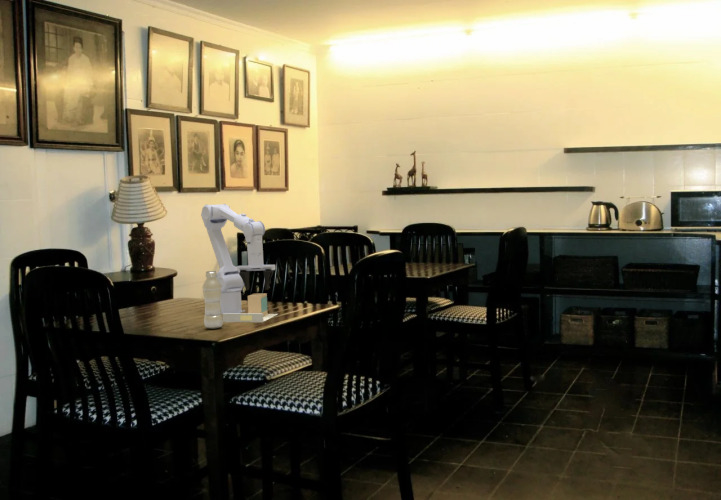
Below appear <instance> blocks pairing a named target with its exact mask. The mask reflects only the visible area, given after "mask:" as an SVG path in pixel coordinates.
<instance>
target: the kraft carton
mask: <svg viewBox="0 0 721 500" xmlns="http://www.w3.org/2000/svg"><path fill="white" fill-rule="evenodd" d="M267 294H268V293H252V294H250V295H247V309H248V310H247V311H248V312H247V313H263V316H265V315H267V314H269V313H268V297H267V296H268V295H267Z"/></svg>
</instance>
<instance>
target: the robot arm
mask: <svg viewBox="0 0 721 500" xmlns="http://www.w3.org/2000/svg"><path fill="white" fill-rule="evenodd" d="M200 216H201V220H202V221H203V224H204V227H205V228H206V232H207V234H208V238H209V241H210V244H211V247H212V250H213V253H214V256H215V258H216V262H217V265H218V267H219V270H218V271H216V274H217V277H216V279H217V280H218V281H219V282H220V284H221V296H220V306H221V315H223V313H244V312H246V310H245V309H242V293H241V292H242V291H243V288H244V289H245V290H246V291H249V290H250V287H251V286H250V272H252V271H253V272H254V271H255V272H256V271H257V272H258V271H263V272H262V273H263V278H264V289H265V291H269V290H270V283H271V278H272V276H273V274H274V271H275V270H276V264H264V250H263V249H264V248H263V236H264V235H265V233H266V227H265V224H264V223H263V222H262V220H258V221H255V220H254V218H250V217H249V216H247V214H246V213H239V214H238V213H237V212H235V211H234V210H232V209H231V207H230V205H228V204H226V203H223V204H222V203H220V204H204V205H203V207H202V210H201V214H200ZM228 221H229V222H231V223H233V225H234V228H237V229H238V230H240V231H241V232H242V233H243V235H244V237H245V238H244V240H245V242H246V245H247V246H246V247H247V249H246V250H247V263H248V265H247V264H246V265H237V266H236V265H234V263H233V261H232V258H231V255H230V253H229V249H228V247H227V244H226V240H225V237H224V235H223V232H222V228H224V227H225V226H226V224H227V222H228Z"/></svg>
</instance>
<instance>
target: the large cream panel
mask: <svg viewBox="0 0 721 500" xmlns="http://www.w3.org/2000/svg"><path fill="white" fill-rule="evenodd" d="M276 316H278V313H268V314H267V315H265V316H263V313H248V312H247V313H245V312H241V313H223V314H222V318H223V323H264V322H266V321H268V320H270V319H271V318H274V317H276Z"/></svg>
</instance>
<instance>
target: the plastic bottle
mask: <svg viewBox="0 0 721 500" xmlns="http://www.w3.org/2000/svg"><path fill="white" fill-rule="evenodd" d="M216 277H217V270H208V271H205V278H206V279H205V280H204V282H203V284H202V293H203V299H204V316H203V317H204V318H203V324H204V327H205V328H206V329H210V330H216V329H220V328H221V327H222V326H223V324H224V322H223V314H221V306H220V296H221V284H220V282H219V281H218V280H217V278H216Z"/></svg>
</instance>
